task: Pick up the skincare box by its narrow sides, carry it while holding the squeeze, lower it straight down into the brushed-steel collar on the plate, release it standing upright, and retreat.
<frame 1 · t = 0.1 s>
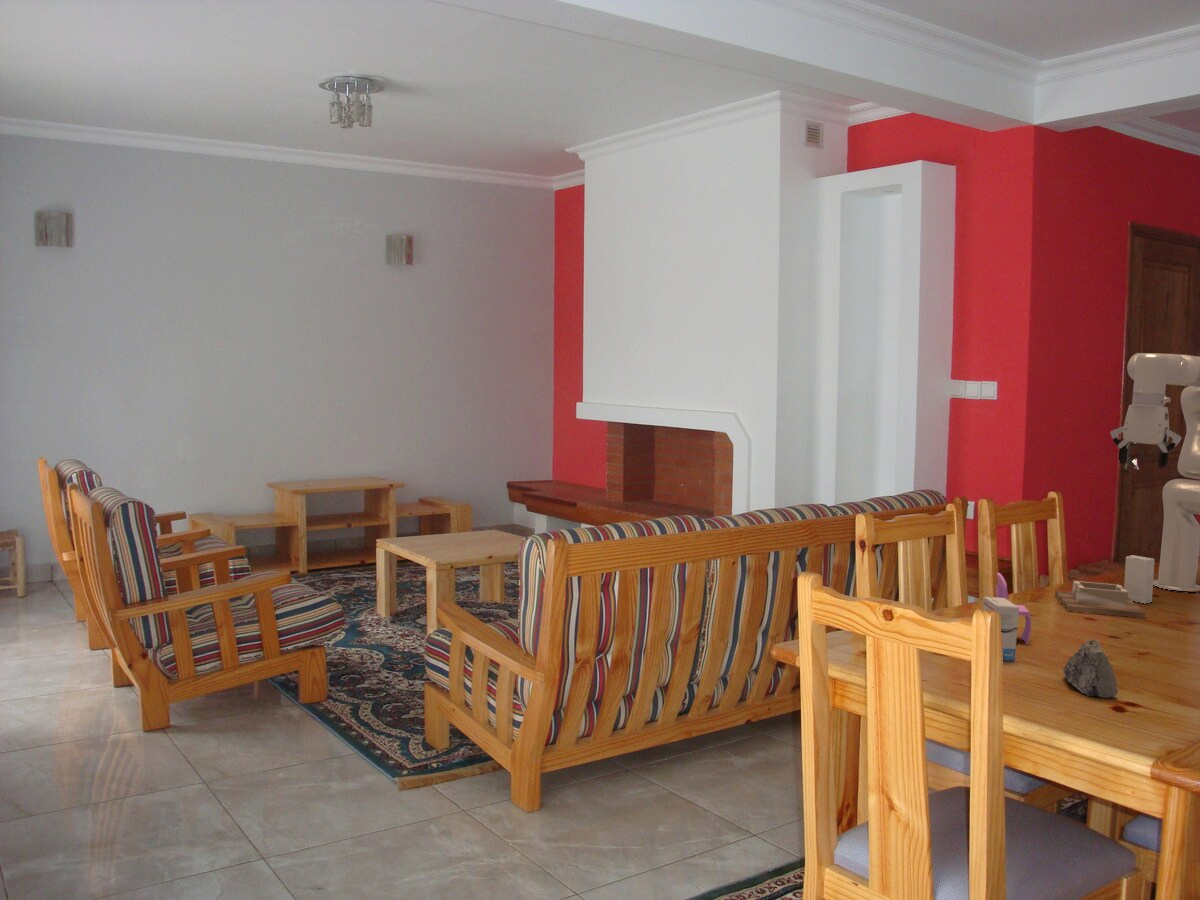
hand: (1142, 465, 273), 37 cm above the table, tool pointing down, fingers open, 9 cm apart
collar plate: (1098, 607, 270), on the table
toy chair: (1007, 640, 235), on the table
ink box: (996, 656, 221), on the table
skincare box: (1136, 602, 279), on the table
mineral rock: (1089, 689, 201), on the table
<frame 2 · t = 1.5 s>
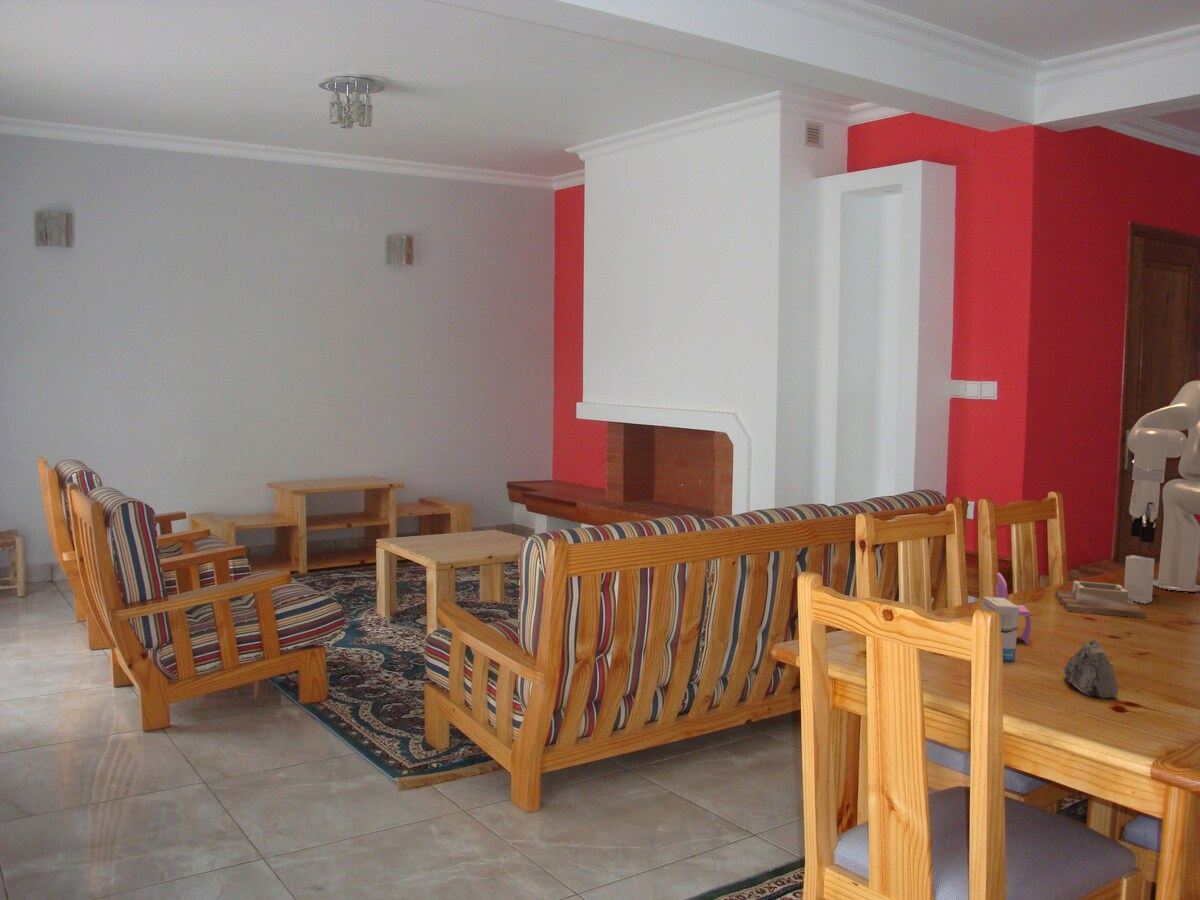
hand: (1141, 539, 277), 17 cm above the table, tool pointing down, fingers open, 9 cm apart
nothing on the table moved.
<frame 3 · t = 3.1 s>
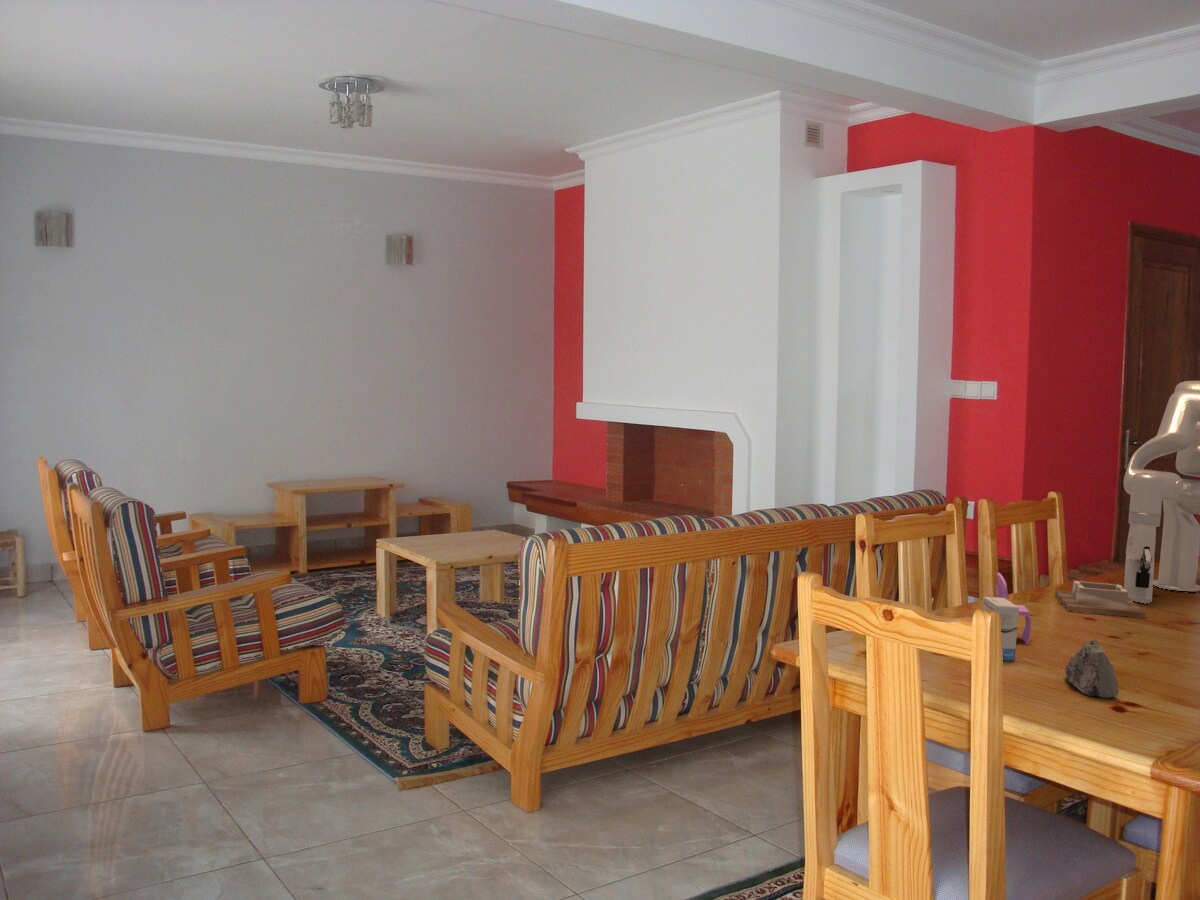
hand: (1138, 583, 279), 5 cm above the table, tool pointing down, fingers closed on skincare box, 6 cm apart
skincare box: (1136, 602, 279), on the table, touching gripper
everything else where it was.
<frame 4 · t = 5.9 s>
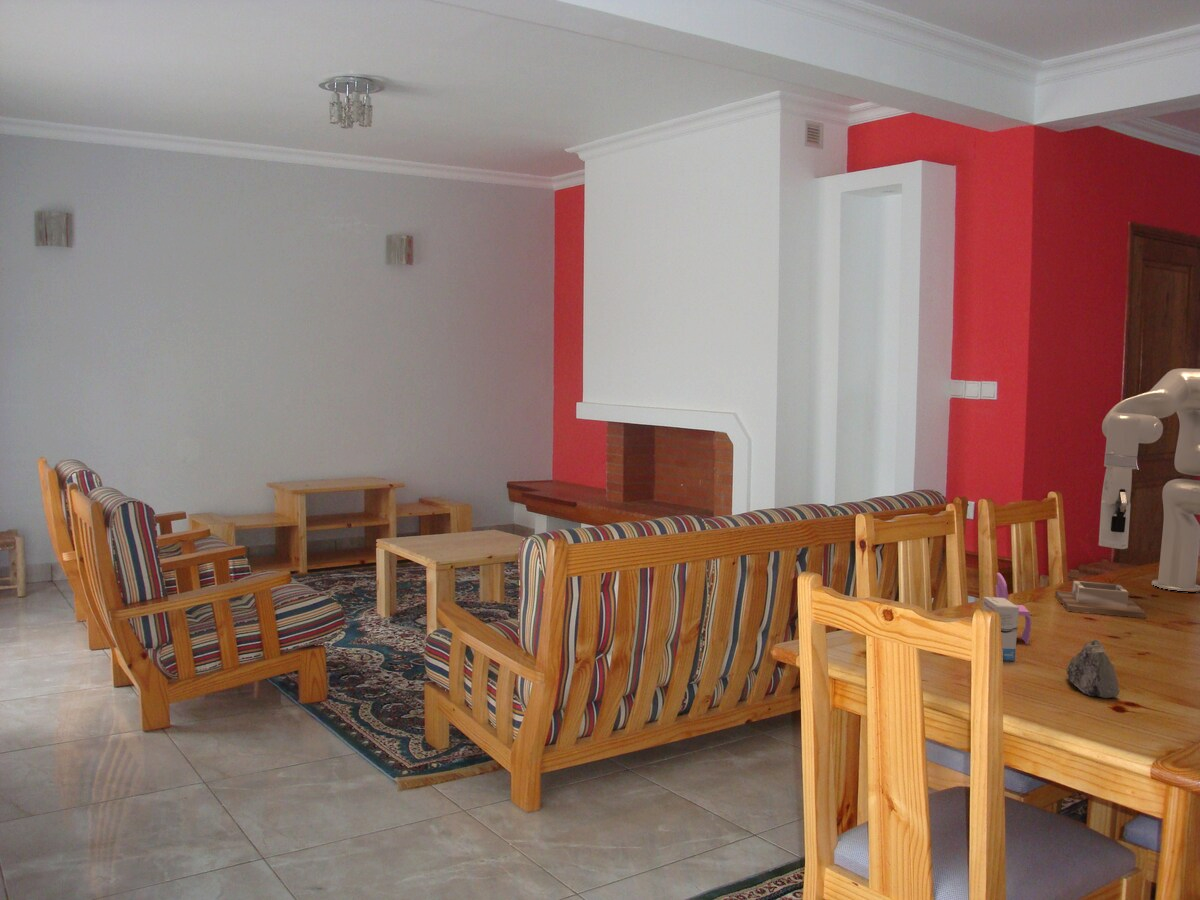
hand: (1113, 529, 270), 20 cm above the table, tool pointing down, fingers closed on skincare box, 6 cm apart
skincare box: (1112, 547, 271), point 15 cm above the table, touching gripper
everything else where it was.
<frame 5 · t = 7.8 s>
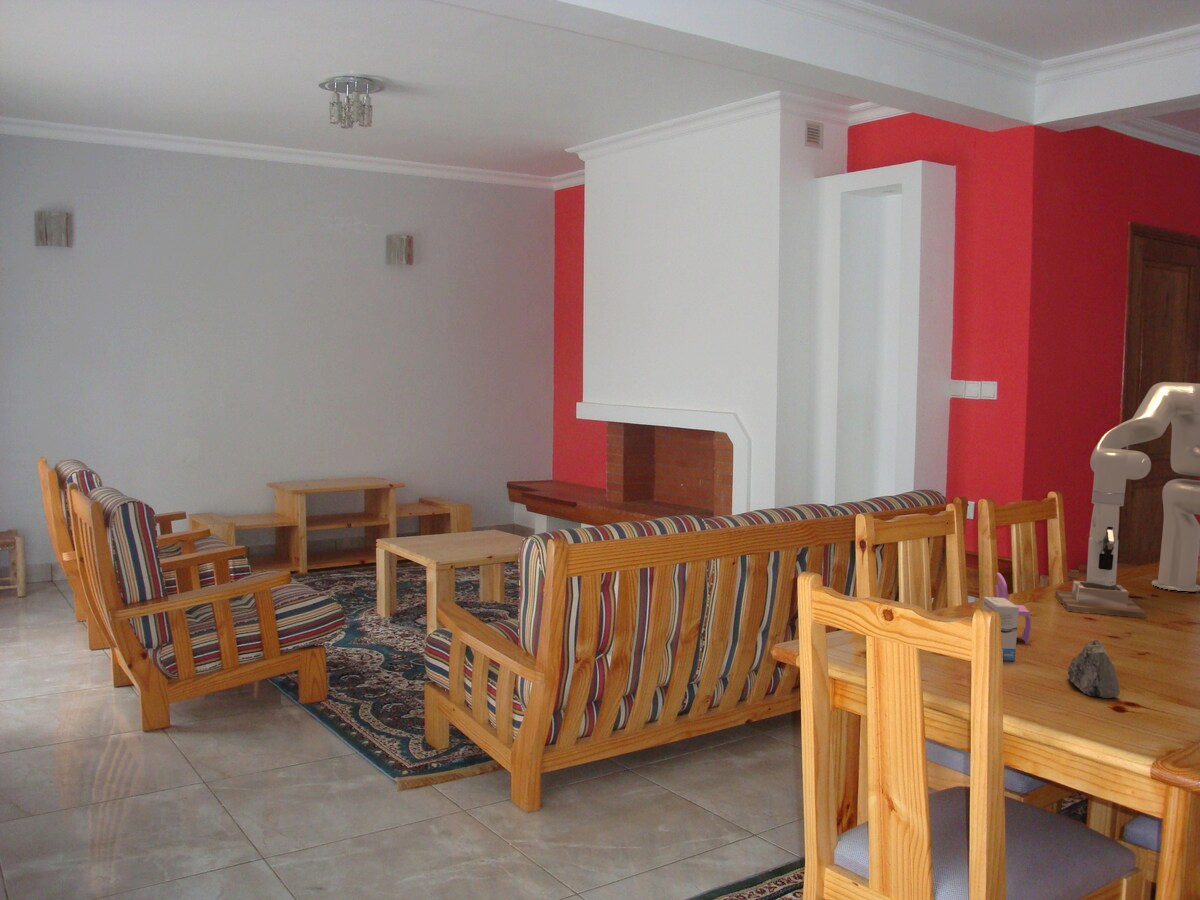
hand: (1101, 566, 269), 11 cm above the table, tool pointing down, fingers closed on skincare box, 6 cm apart
skincare box: (1100, 584, 270), point 6 cm above the table, touching gripper
everything else where it was.
when the fingers open (8 cm above the table, at t = 9.0 s): skincare box drops 1 cm, resting on collar plate.
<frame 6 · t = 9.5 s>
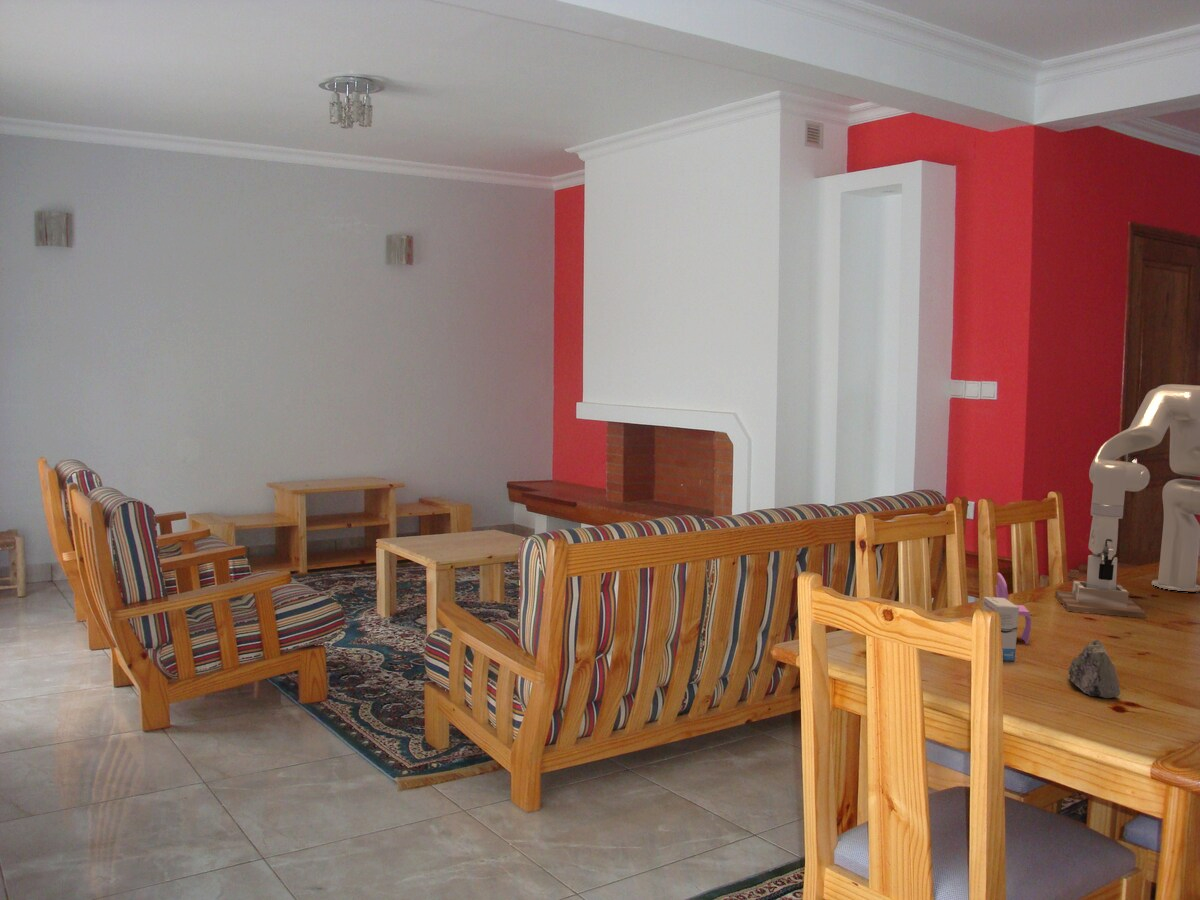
hand: (1101, 575, 270), 8 cm above the table, tool pointing down, fingers open, 9 cm apart
skincare box: (1099, 602, 270), point 1 cm above the table, touching collar plate
everything else where it was.
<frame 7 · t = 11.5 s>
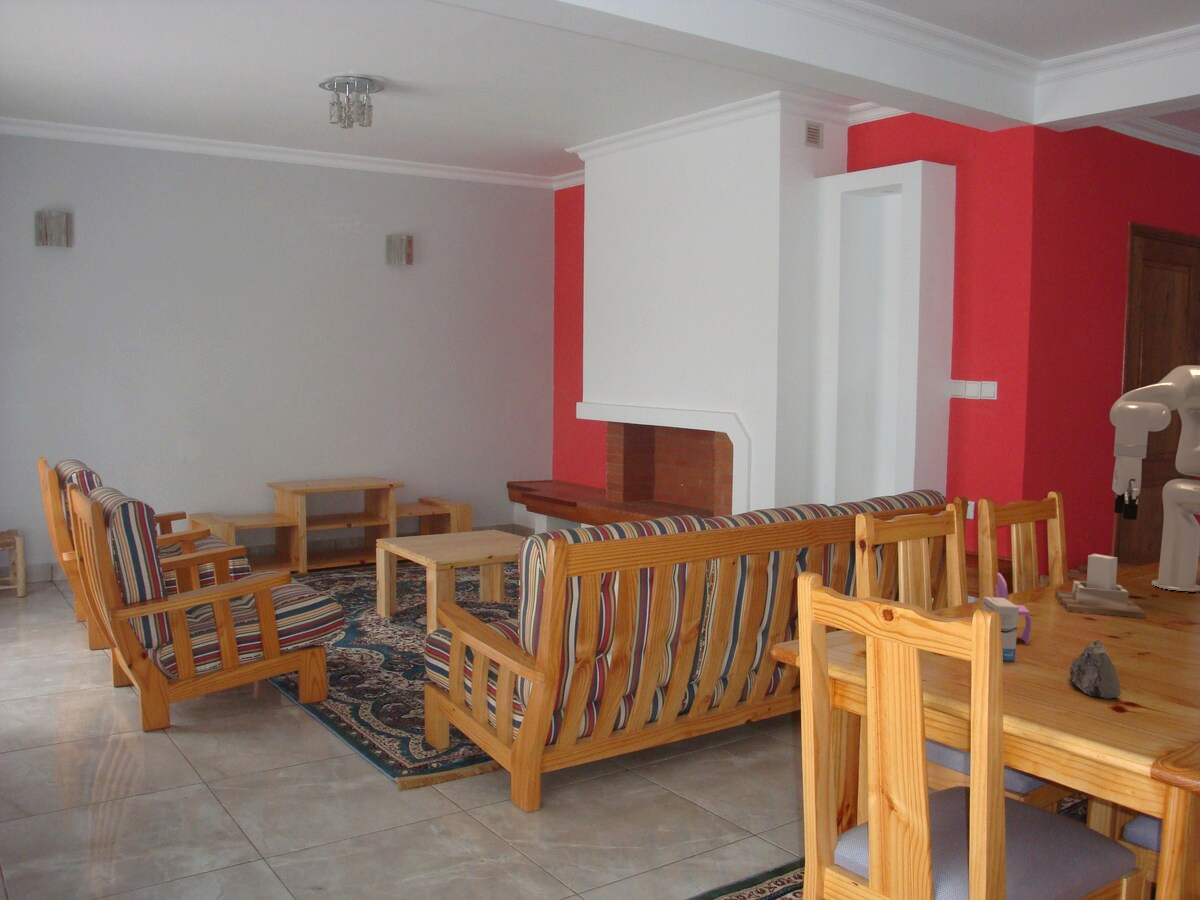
hand: (1125, 516, 271), 24 cm above the table, tool pointing down, fingers open, 9 cm apart
nothing on the table moved.
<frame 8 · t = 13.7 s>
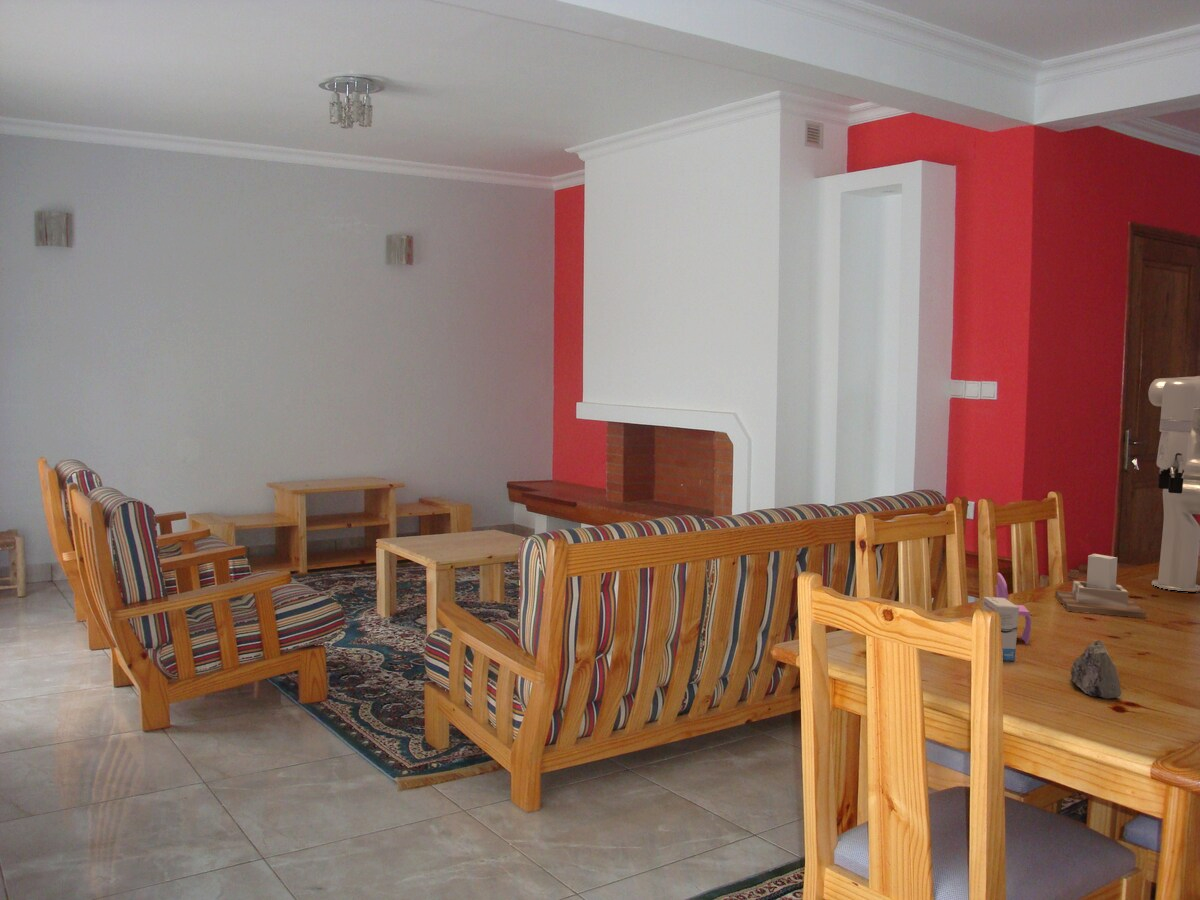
hand: (1169, 490, 277), 30 cm above the table, tool pointing down, fingers open, 9 cm apart
at the end: skincare box 0.2 cm off-centre on the collar plate, point 1.3 cm above the collar plate's base; skincare box tilted 0°; the gripper is holding nothing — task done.
